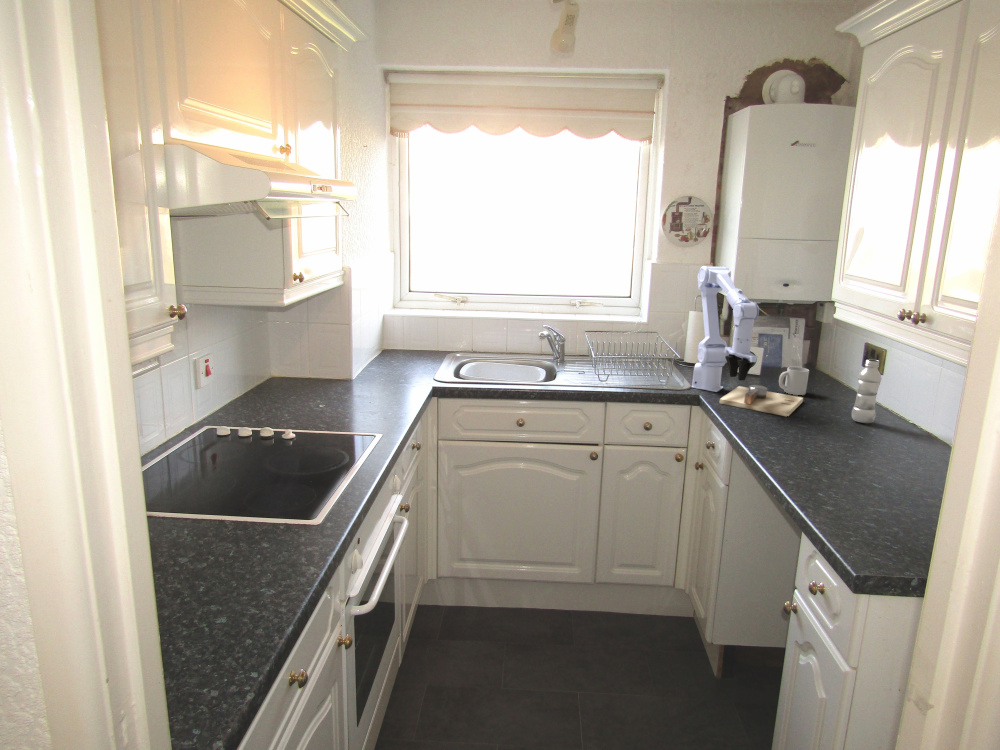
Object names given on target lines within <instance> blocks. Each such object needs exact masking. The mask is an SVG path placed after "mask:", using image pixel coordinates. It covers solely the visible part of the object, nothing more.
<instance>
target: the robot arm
mask: <svg viewBox="0 0 1000 750" xmlns="http://www.w3.org/2000/svg"><path fill="white" fill-rule="evenodd" d="M731 278H732V271H731V270H730V268H729V267H728V266H726V265H725V266H706V265H703V266H701V267H700V269H699V270H698V274H697V286H698V291H699V292H701V304H702V318H703V328H704V329H703V330H704V338H703V340H701V341H700V342H699V343H698V345H697V347H698V348H697V354H696V355H697V360H698V362H696V363H695V364H694V367H693V372H692V373H693V375H692V383H691V385H690V386H691V388H692V389H693V388H694V389H697V390H702V391H703V390H704V391H709V392H715V393H718V392H720V391H721V390H722V389H724V386H721V379H722V371H723V367H724V366H725V364H726V363H727V366H728V371H729V377H730V378H735V377H736V378H737V379H738V381H745V380H746V378H747V376H748V373H749V371H750V369H751V368H752V367H753V365H754V364H755V363H757V362H758V356H757V355H755V354H753V353H752V352H751V347H752V346H751V345H752V337H753V332H754V325H755V320H757V319H758V318H759V313H760V308H759V304H758V303H757V302H755V301H754V302H753V301H752V300H751V301H750V299H749V298H748V296H747V295H746V294H745V293H744V291H743V289H742V288H737V287H736V286H735V284H734V281H733V280H732V279H731ZM722 291H723V292H725V294H726V297H725V298H726V302H727V303H728V304H729V305H730V307H731V309H733V310H732V315H733V324H734V330H733V339H732V346H728V344H727V342H726V340H724V339H723V338H722V337H721V334H720V323H719V322H720V321H719V320H720V319H719V313H718V311H719V310H718V309H719V308H718V298H717V294H718V293H719V292H722ZM737 375H738V377H737Z"/></svg>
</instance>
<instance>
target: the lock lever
mask: <svg viewBox="0 0 1000 750" xmlns="http://www.w3.org/2000/svg"><path fill="white" fill-rule="evenodd" d="M748 388H749V389H748V392H747V393H746V394H745V400H744V403H748V404H751V403H752V402H753V401H755V400H756V399H757V398H766V395H767V391H768V387H766V386H764V385H759V384H750V385H749V386H748Z"/></svg>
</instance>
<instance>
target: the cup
mask: <svg viewBox="0 0 1000 750" xmlns="http://www.w3.org/2000/svg"><path fill="white" fill-rule="evenodd" d="M809 375H810V370H809V369H808V368H805V367H800V366H789V367H787V370H786V371H782V373H780V375H779V377H778V385H779V386H778V387H780V389H782V390H784V393H785V392H786V393H785V394H787V393H788V394H787V395H791V394H793V395H792V396H798V395H802V396H805V395H806V394H807V387H808V380H809ZM784 379H785V380H784ZM784 381H785V384H784Z"/></svg>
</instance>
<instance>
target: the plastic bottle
mask: <svg viewBox="0 0 1000 750" xmlns="http://www.w3.org/2000/svg"><path fill="white" fill-rule="evenodd" d="M864 366H865V367H863V368H862V369H861V370H860V371H859V373H858V375H857V391H856V397H855V401H854V404H853V405H854V406H853V407H852V410H851V419H852V420H853V421H855V422H857V423H860V424H861V423H862V424H871V423H873V422H874V421H875V419H876V404H877V403H876V401H877V400H876V399H877V395H878V391H879V388H880V385H881V383H882V382H881V381H882V378H883V377H882V375H881V373H880V371H879V369H878V368H879V367H880V360H877V359H872V358H871V359H870V358H868V359H866V360H865V362H864Z"/></svg>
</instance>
